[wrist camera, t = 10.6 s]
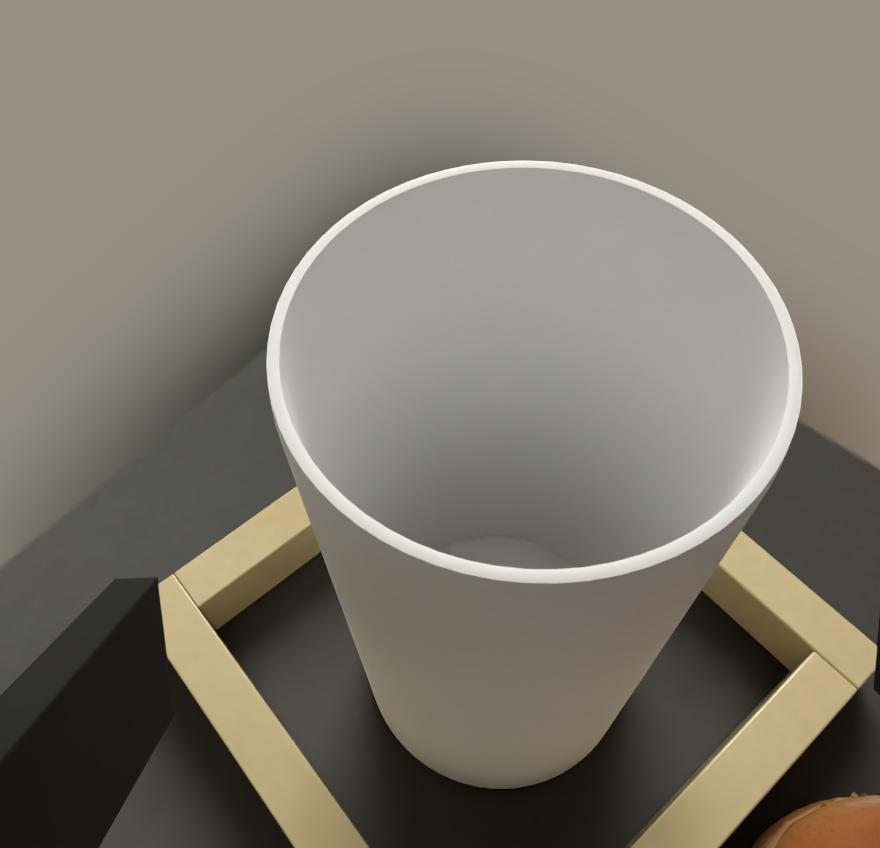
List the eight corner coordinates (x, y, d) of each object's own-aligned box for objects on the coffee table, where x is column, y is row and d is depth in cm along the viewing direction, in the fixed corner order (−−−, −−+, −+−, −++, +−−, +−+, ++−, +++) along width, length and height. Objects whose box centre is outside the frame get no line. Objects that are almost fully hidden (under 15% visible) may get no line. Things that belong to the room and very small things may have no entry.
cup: (673, 627, 26) (893, 292, 13) (529, 853, 23) (622, 722, 9) (469, 491, 29) (474, 102, 16) (315, 674, 26) (149, 376, 12)
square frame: (858, 676, 25) (889, 655, 23) (477, 1106, 20) (478, 1123, 18) (507, 368, 32) (510, 333, 30) (153, 626, 27) (130, 603, 25)
